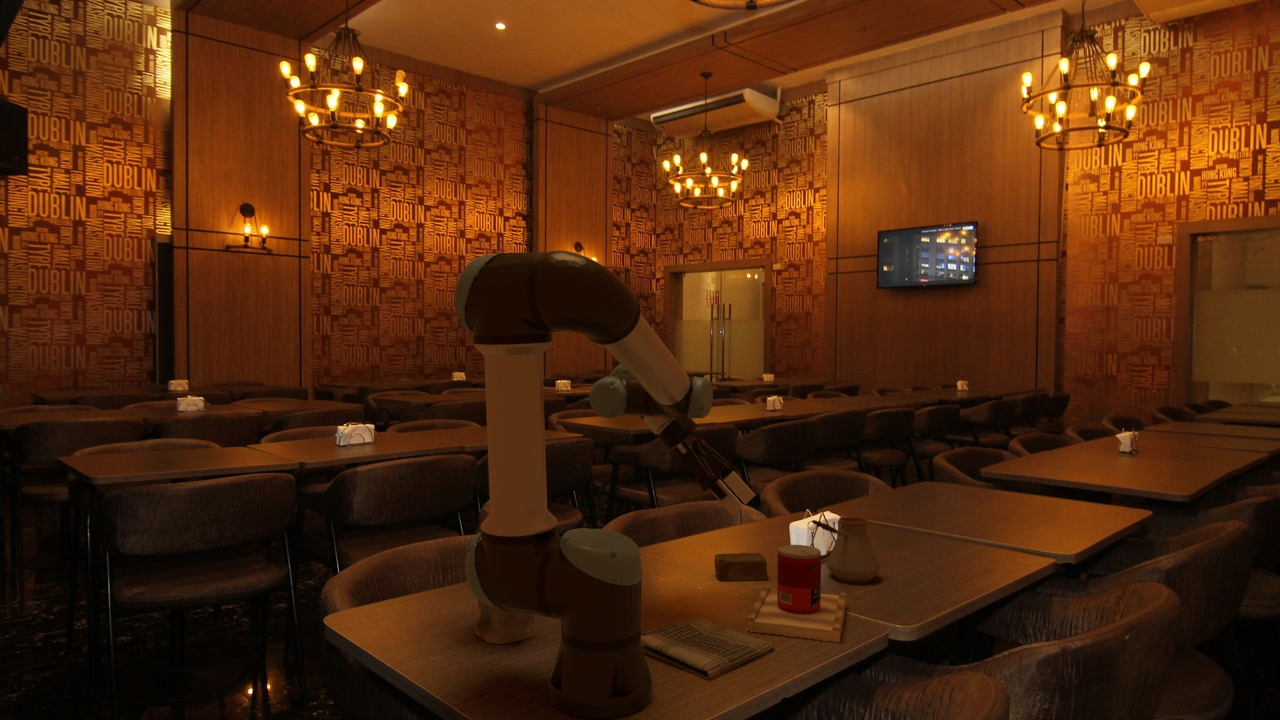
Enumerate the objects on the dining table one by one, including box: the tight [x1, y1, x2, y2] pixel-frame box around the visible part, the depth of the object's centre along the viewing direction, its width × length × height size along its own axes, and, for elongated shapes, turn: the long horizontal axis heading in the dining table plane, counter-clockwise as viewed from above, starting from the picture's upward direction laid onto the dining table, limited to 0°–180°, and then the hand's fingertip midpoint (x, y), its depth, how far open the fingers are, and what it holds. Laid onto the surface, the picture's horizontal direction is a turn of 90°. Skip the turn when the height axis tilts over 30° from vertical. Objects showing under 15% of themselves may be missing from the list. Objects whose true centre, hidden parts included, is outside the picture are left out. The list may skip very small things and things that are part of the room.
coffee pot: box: [807, 516, 881, 584], centre depth 170 cm, size 21×12×15 cm, turn 131°
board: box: [746, 584, 847, 643], centre depth 147 cm, size 20×16×3 cm
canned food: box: [776, 544, 822, 614], centre depth 147 cm, size 8×8×11 cm
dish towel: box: [641, 617, 775, 680], centre depth 132 cm, size 19×18×3 cm
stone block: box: [713, 552, 769, 582], centre depth 173 cm, size 6×12×5 cm, turn 96°
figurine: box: [474, 499, 539, 645], centre depth 139 cm, size 10×14×25 cm
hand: (744, 505), depth 151 cm, fingers open, 13 cm apart
